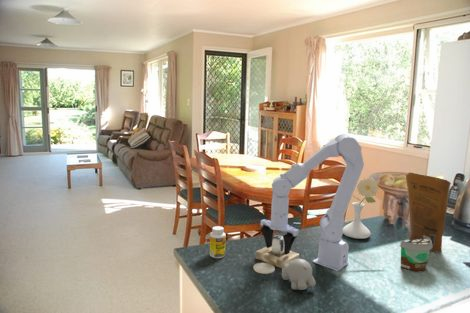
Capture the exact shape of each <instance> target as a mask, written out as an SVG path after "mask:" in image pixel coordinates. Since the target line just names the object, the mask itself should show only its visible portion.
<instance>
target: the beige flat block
mask: <svg viewBox="0 0 470 313" xmlns="http://www.w3.org/2000/svg"><path fill="white" fill-rule="evenodd" d="M271 250H272V246H271V247H269V248H267V247H266V246H265V247H263V248H261V249H258V250H256V251H255V259H257V260H260V261H262V262H264V263H269V264H271V265H273V266H274V267H277V268H280V269H282V268H283V265H282V264H285V265H287V264H289V263H290V262H291V261H293V260H295V259H300V256H301V255H300V253H298V252H295V251H292V250H290V253H289V254H287V255H286V254H285V253H284V255H283V256H281V257H277V256H275V255H272V254H271Z"/></svg>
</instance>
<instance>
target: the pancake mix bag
mask: <svg viewBox="0 0 470 313" xmlns="http://www.w3.org/2000/svg"><path fill="white" fill-rule="evenodd" d="M405 183H406V188H407V201H408V211H409V212H408V213H409V225H410V232H409V237H408V241H410V240H412V239H421V238H423V235H424V236H427V237H428V238H430V239H431V242H432V246H433V247H432V249H431V250H430V251H431V252H435V253H443V251H442V250H443V249H442V246H443V245H442V244H443V234H444V228H445V223H446V222H445V221H446V217H447V209H448V201H449V198H450V197H449V196H450V188H451V184H452V183H451V181H449V180H447V179H444V178H439V177H436V176H430V175H423V174H419V173H414V172H411V171H409V172H408V173H405ZM430 251H429V252H430Z"/></svg>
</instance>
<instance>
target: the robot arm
mask: <svg viewBox="0 0 470 313" xmlns="http://www.w3.org/2000/svg"><path fill="white" fill-rule="evenodd" d="M339 154H340V155H339ZM340 156H342V159H343V161H344V163H345V164H346V165H345V168H344V171H343V173H342V177H341V178H340V182H339V185H338V187H337V190H336V192H335V195H334V196H333V199H332V202H331V204H330V207H329V208H328V210H327V211H326V212H325V214H324V215H323V216H322V217H321V218H320V221H319V227H320V229H321V233H319V237H318V239H319V240H318V256H317V258H315V259H313V260H312V262H313V263H314V264H317V265H320V266H322V267H325V268H328V269H330V270H331V269H332V270H334V271H336V272H339V271H340V270H341V269H343V268H345V267H346V266H347V265H348V264H349V261H348V260H349V248H350V247H349V243H348V242H346V241H344V240H343V239H342V237H343V235H344V234H343V227H344V226H345V225H344V224H345V214H346V212H347V209H348V206H349V204H350V202H351V199H352V197H353V194H354V192H355V189H356V188H357V185H358V183H359V182H358V181H359V179H360V177H361V174H362V171H363V169H364V165H365V164H364V163H365V162H364V158H363V153H362V146H361V145H360V144H359V142H358V141H357V139H356V138H354V137H351V136H350V135H347V134H344V133H343V134H339V135H338V136H336V137H335V138H333V139H331V140H330V141H328V142H327V143H326V144H324V145H323V146H322V147H321V148H320V149H319V150H317V151H316V152H315V153H314V154H312V155H311V156H310V157H309V158H308V159H307V160H305V161H304V162H302V163H300V162H297V163H292V164H291V165H290V168H289V169H288V170H286V171H285V172H284V173H280V174H279V176H278V177H276V178H274V179H273V180H272V183H271V189H272V195H271V197H272V199H271V208H270V209H271V210H270V211H271V212H270V213H271V214H270V220H269V219H265V218H264V219H261V220H260V227H261V228H260V232H261V233H262V236H263V238H264V242H265V247H267V248H269V247H271V246H272V236H274V231H279V232H282V233H285V234H284V235H282V236H283V238H284V245H285V246H284V253H285V254H286V255H287V254H289V253H290V251H291V249H292V246H293V243H294V242H295V240H296V238H297V237H298V236H299V233H300V231H299V229H298V228H295V227H293V226H292V225H289V223H288V220H289V219H288V218H289V202H290V200H289V194H290V192H291V189H294V188H295V187H296V186H298V185H300V184H301V183H302V182H303V181H305V180H306V179H307V178H308V177H309V176H310V174H309V173H310V171H311V170H313V169H314V168H315V167H317V166H319V165H320V164H322V163H323V162H324V161H326V160H327V159H328V158H339V157H340Z"/></svg>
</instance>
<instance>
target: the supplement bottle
mask: <svg viewBox="0 0 470 313" xmlns="http://www.w3.org/2000/svg"><path fill="white" fill-rule="evenodd" d="M211 231H212V232H210V233H209V256H210V257H211V258H213V259H222V258H224V257H225V256H226V243H227V242H226V241H227V239H226V237H227V236H226V233H225V232H224V231H225V230H224V227H223V226H219V225H216V226H213V227H212V229H211Z"/></svg>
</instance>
